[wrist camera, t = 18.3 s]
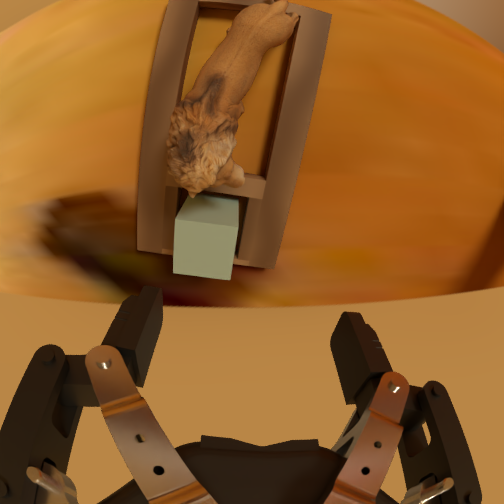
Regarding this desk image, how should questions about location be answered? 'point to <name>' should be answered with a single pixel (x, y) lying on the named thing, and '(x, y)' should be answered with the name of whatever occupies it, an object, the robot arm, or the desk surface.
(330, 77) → the desk surface
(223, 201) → the block
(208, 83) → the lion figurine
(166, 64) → the board
